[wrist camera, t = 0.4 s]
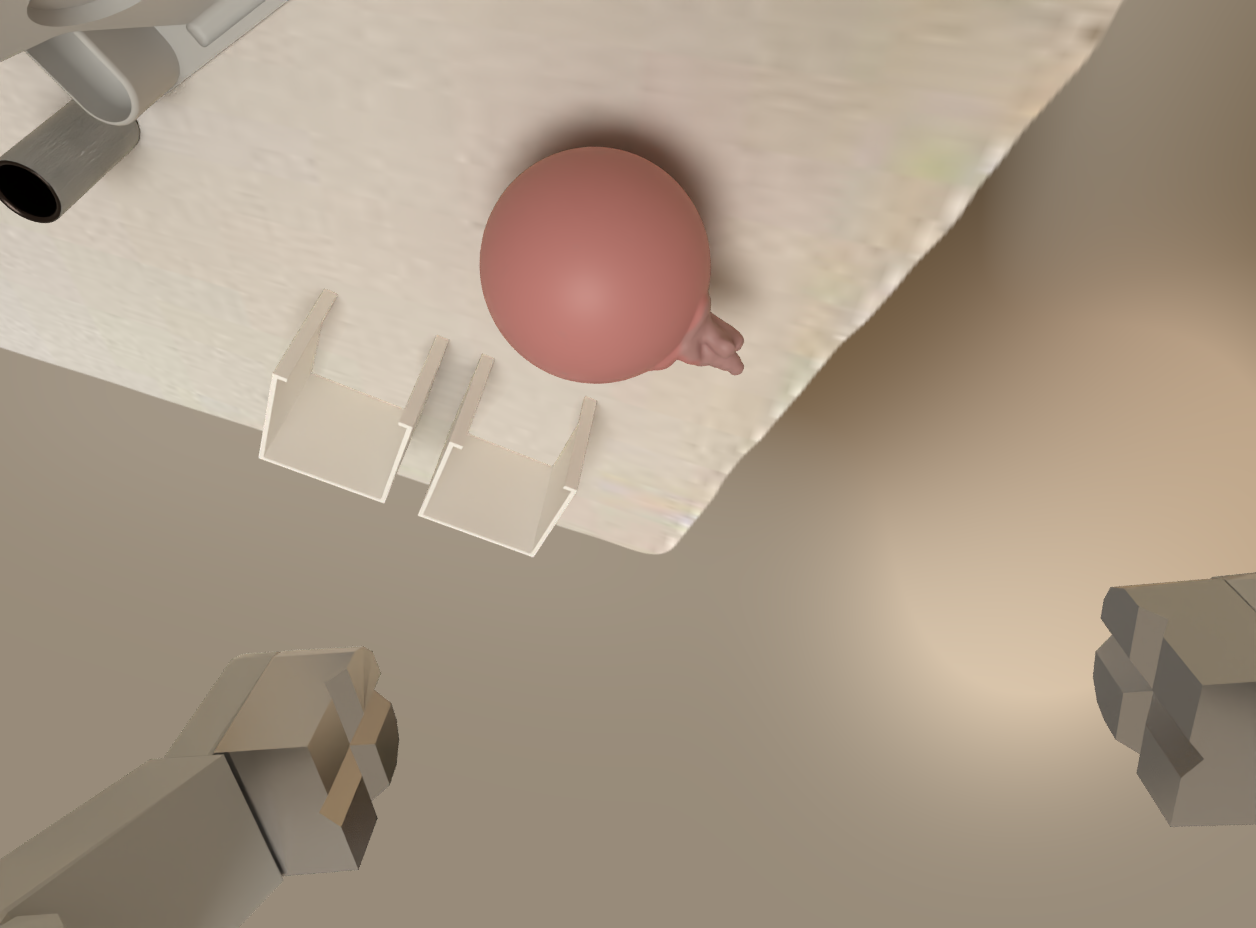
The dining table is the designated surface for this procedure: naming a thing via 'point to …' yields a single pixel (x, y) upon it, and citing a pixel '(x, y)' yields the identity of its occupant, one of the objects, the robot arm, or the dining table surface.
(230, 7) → the phone holder
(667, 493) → the dining table surface
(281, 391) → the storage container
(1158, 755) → the robot arm
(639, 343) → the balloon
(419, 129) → the dining table surface
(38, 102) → the dining table surface
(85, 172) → the gray cylinder
